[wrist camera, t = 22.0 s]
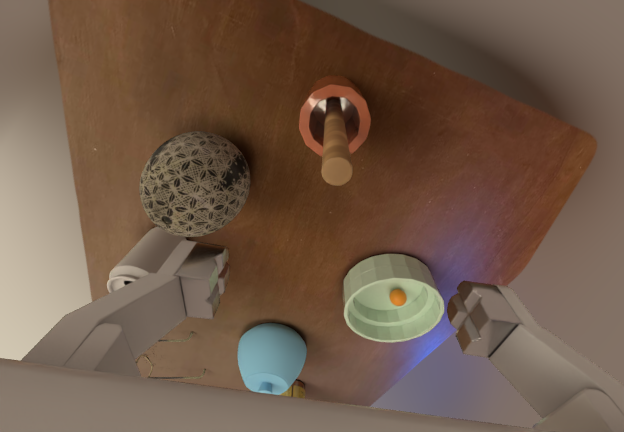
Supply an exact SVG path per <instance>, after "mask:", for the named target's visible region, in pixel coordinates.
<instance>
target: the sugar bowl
mask: <svg viewBox="0 0 624 432" xmlns="http://www.w3.org/2000/svg"><path fill="white" fill-rule="evenodd" d="M306 354H307V348H306V344H305V342H304V341H303V339H302V338H301V337H300V335H299V334H298V333H297V332H296V331H294V330H293V329H291V328H290V327H287V326H285V325H282V324H276V323H265V324H260V325H257V326H255V327H253V328H252V329H250V330H249V331H247V332H246V333H245V334H244V335H243V336H242V337H241V339H240V342H239V346H238V364H239V368H240V372H241V375H242V378H243V381H244V383H245V385H246V386H247V387H248V388H249V389H250V390H251V391H253V392H260V393H267V394H275V395H278V394H282V393H284V392H285V391H287V390H288V389H289V387H290V386H291V385H292V384H293V382H294V381H295V380H296V378H297V377H298V375H299V374H300V372H301V370H302V368H303V366H304V363H305V359H306Z"/></svg>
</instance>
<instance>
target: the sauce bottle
mask: <svg viewBox="0 0 624 432" xmlns="http://www.w3.org/2000/svg"><path fill="white" fill-rule="evenodd" d="M281 395H282V396H290V397H297V398H305V386H304V384H303V383H302V382H301V381H297V380H295V381H294V382H293V384H292V385H291V386H290V387H289V389H288V390H287V391H285V392H284V393H282V394H281Z"/></svg>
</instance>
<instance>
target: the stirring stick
mask: <svg viewBox="0 0 624 432" xmlns="http://www.w3.org/2000/svg"><path fill="white" fill-rule="evenodd" d="M352 174H353V168H352V162H351V157H350V151H349V145H348V140H347V134H346V128H345V123H344V117H343V112H342V106H341V103H340V102H339V101H338V100H336V99H332V100H330V101H328V102H327V104H326V110H325V125H324V141H323V157H322V176H323V178H324V180H325V181H326V182H327V183H329V184H331V185H334V186H339V185H343V184H345V183H347V182H348V181H349V180H350V178H351V177H352Z"/></svg>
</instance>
